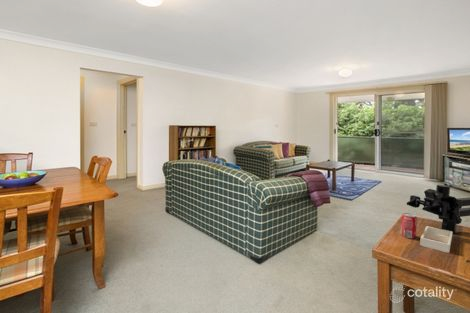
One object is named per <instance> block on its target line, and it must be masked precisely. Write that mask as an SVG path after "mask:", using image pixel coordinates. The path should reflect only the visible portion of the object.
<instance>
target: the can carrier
mask: <svg viewBox="0 0 470 313" xmlns="http://www.w3.org/2000/svg"><path fill="white" fill-rule="evenodd" d="M452 233H453V232H452V231H448V230H443V229H441V228H438V227H432V226H428V225H426V226H425V228H424V230H423V231H422V234H421V236H420V241H419V246H420V247H424V248H427V249H432V250H435V251H439V252H444V253H447V254H450V250H451V246H452V240H453V234H452Z"/></svg>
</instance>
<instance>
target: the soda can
mask: <svg viewBox="0 0 470 313" xmlns="http://www.w3.org/2000/svg"><path fill="white" fill-rule="evenodd" d="M400 222H401V224H400V235H401V236H403V237H404V238H407V239H414V238H416V237H417V234H418V233H417V231H418V217H417V214H414V213H410V212H405V213H403V214H402V216H401V221H400Z"/></svg>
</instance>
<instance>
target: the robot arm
mask: <svg viewBox="0 0 470 313" xmlns="http://www.w3.org/2000/svg"><path fill="white" fill-rule="evenodd" d="M450 191H451V185H444V184H436V189H432V188H427V189H426V190H424V196H425V197H424V198H423V200H422V199H421V197H420V196H419V195H418V196H417V195H410V197H409V201H407V202H406V205H407V206H408V207H412V208H419V207H420V206H423V207H422V208H421V209H422V211H425V212H427V213H431V214H433V215H437V216H438V219H439V220H442V222H441V228H440V229H443V230H448V231H452V232H453V233H452V235H454V234H460V232H459V231H457V225H460V224H461V223H462V221H463V220H462V218H461V217H463V218H464V217H470V197H460V198H459V197H457V198H456V197H455V196H452V195H450V193H451V192H450ZM468 206H469V207H468Z"/></svg>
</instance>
